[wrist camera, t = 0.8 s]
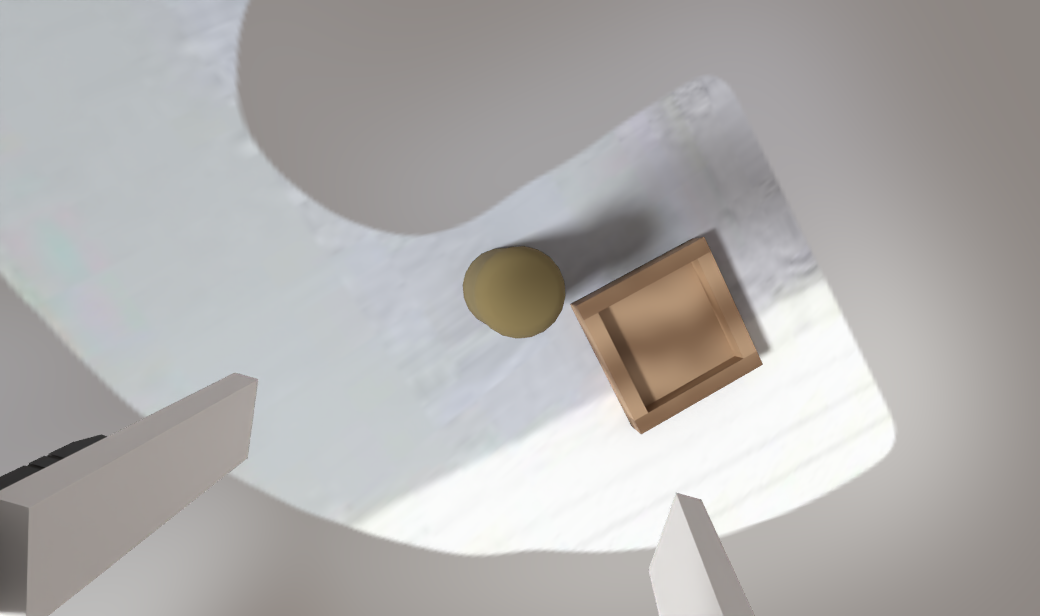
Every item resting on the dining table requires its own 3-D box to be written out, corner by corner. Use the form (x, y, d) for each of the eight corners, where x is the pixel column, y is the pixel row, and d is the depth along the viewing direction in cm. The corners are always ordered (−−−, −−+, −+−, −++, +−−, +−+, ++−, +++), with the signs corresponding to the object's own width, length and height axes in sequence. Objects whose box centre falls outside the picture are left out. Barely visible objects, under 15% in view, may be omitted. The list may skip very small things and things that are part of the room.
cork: (454, 258, 36) (454, 250, 26) (532, 239, 37) (565, 224, 26) (473, 336, 37) (482, 362, 26) (550, 317, 38) (590, 334, 27)
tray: (570, 304, 38) (576, 305, 36) (691, 238, 39) (704, 237, 37) (631, 426, 39) (641, 434, 37) (747, 360, 40) (762, 364, 38)
